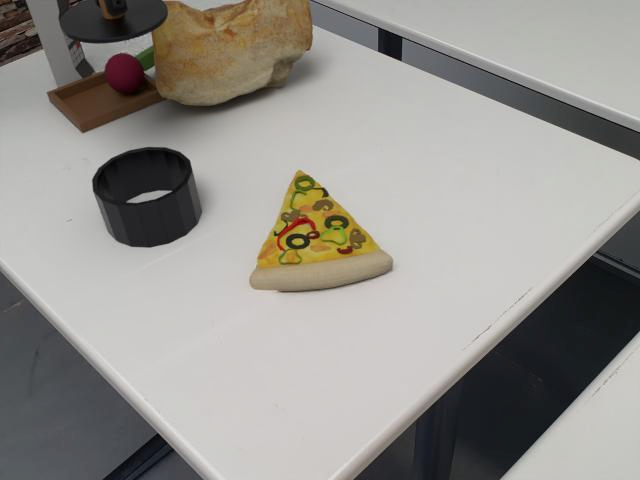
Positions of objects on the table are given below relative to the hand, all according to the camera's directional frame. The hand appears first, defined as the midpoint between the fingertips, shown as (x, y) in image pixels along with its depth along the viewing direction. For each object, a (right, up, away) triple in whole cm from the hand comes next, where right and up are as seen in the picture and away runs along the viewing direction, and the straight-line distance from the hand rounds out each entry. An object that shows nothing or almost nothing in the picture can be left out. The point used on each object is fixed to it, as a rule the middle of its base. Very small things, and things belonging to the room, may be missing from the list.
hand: (112, 8), depth 78 cm
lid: (0, -1, +1) cm, 1 cm away
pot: (+4, -23, +5) cm, 24 cm away
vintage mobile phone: (-14, +1, +28) cm, 32 cm away
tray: (-8, -3, +24) cm, 25 cm away
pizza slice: (+23, -25, +2) cm, 34 cm away
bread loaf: (+10, 0, +25) cm, 27 cm away
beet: (-7, -1, +22) cm, 23 cm away
